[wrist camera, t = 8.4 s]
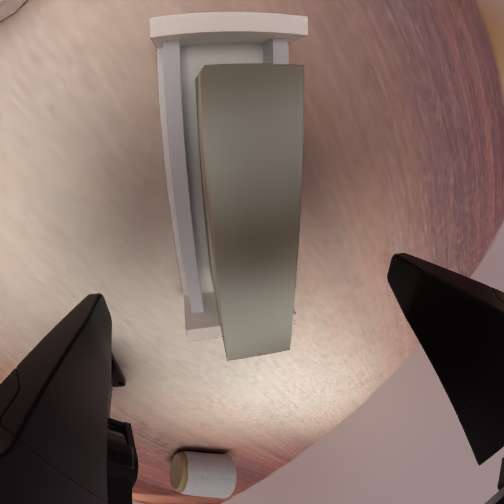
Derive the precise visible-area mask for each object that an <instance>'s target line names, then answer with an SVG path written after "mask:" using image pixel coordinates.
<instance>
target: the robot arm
mask: <svg viewBox="0 0 504 504" xmlns="http://www.w3.org/2000/svg"><path fill="white" fill-rule="evenodd" d="M387 279H388V283H389V285H390V287H391V289H392V291H393V293H394V295H395V297H396V299H397V301H398V303H399V305H400V307H401V309H402V311H403V313H404V316H405V317H406V319H407V321H408V323H409V325H410V326H411V328H412V330H413V331H414V333H415V335H416V337H417V338H418V340H419V342H420V344H421V346H422V347H423V349H424V351H425V353H426V355H427V356H428V358H429V360H430V362H431V364H432V365H433V368H434V369H435V371H436V373H437V375H438V377H439V379H440V381H441V383H442V385H443V387H444V389H445V391H446V393H447V395H448V397H449V399H450V401H451V403H452V405H453V407H454V409H455V411H456V414H457V415H458V418H459V421H460V423H461V425H462V427H463V429H464V432H465V434H466V436H467V439H468V441H469V443H470V446H471V448H472V450H473V453H474V455H475V458H476V460H477V463H478V464H479V465H481V464H482V463H484V462H485V461H486V460H487V459H489V458H490V457H491V456H493V455H494V454H495V453H496V452H497V451H499V450H500V449H501V448H502V447H504V292H501V291H499V290H497V289H495V288H492V287H491V288H490V286H487V285H485V284H482V283H480V282H478V281H475V280H473V279H470V278H468V277H466V276H463V275H461V274H458V273H456V272H453V271H451V270H448V269H446V268H443V267H440V266H438V265H435V264H433V263H430V262H427V261H425V260H422V259H420V258H417V257H414V256H412V255H409V254H406V253H399V254H395V255H393V257H392V259H391V263H390V267H389V271H388V275H387ZM111 335H112V320H111V315H110V312H109V310H108V307H107V304H106V302H105V299H104V297H103V295H102V294H100V293H98V294H89V295H88V296H86V297H85V298H84V299H83V300H82V301H81V302H80V303H79V304H78V305H77V306H76V307H75V308H74V309H73V310H72V311H71V312H70V313H69V314H68V315H67V316H65V317H64V318H63V319H62V320H61V321H60V322H59V323H58V324H57V325H56V326H55V327H54V328H53V329H52V330H51V331H50V332H49V333H48V334H47V335H46V336H45V337H44V338H43V339H42V340H41V341H40V342H39V344H38V345H37V346H36V347H35V348H34V349H33V350H32V351H31V352H30V353H29V354H28V355H27V356H26V357H25V358H24V359H23V360H22V361H21V362H20V364H19V365H18V366H17V369H16V368H15V369H14V370H13V371H12V372H11V373H10V374H9V376H8V377H7V378H6V379H5V380H4V381H3V382H2V383H1V384H0V504H132V487H133V486H134V484H135V482H136V479H137V474H138V458H137V453H136V448H135V444H134V439H133V433H132V428H131V424H130V423H127V422H120V421H117V420H114V419H111V418H110V408H111V397H112V387H121V386H125V384H126V381H125V378H124V377H123V375H122V373H121V371H120V369H119V367H118V365H117V363H116V361H115V359H114V357H113V355H112V353H111ZM498 489H499V492H497V493H496V494H495V495H494V496H493V497H492V498H491V499H490V500H488V501H487V502H486V503H485V504H504V458H502V464H501V470H500V476H499V482H498Z"/></svg>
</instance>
